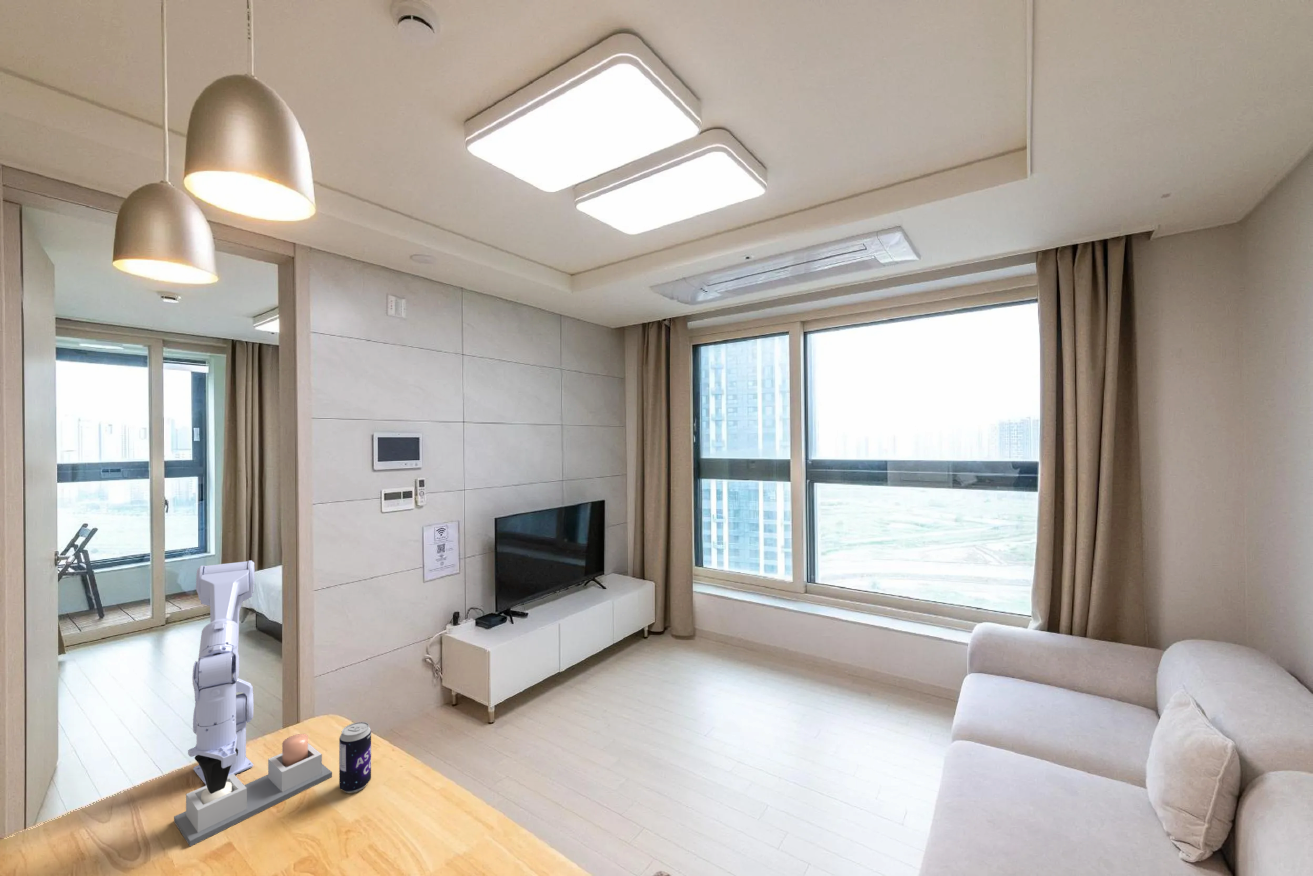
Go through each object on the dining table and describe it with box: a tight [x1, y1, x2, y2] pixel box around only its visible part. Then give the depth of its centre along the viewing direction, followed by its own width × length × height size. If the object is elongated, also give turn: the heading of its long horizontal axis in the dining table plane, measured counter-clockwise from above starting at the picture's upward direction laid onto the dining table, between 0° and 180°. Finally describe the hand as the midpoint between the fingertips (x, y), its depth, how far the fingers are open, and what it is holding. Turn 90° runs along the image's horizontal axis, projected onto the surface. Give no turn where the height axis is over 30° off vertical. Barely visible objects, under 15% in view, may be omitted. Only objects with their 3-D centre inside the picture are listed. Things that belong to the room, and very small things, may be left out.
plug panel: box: [173, 742, 333, 847], centre depth 104 cm, size 10×23×5 cm, turn 145°
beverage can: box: [338, 721, 372, 794], centre depth 107 cm, size 6×6×12 cm
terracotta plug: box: [281, 733, 309, 767], centre depth 109 cm, size 4×4×4 cm
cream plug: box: [201, 782, 232, 805], centre depth 98 cm, size 4×4×4 cm
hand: (216, 790), depth 98 cm, fingers closed, pressing on cream plug
